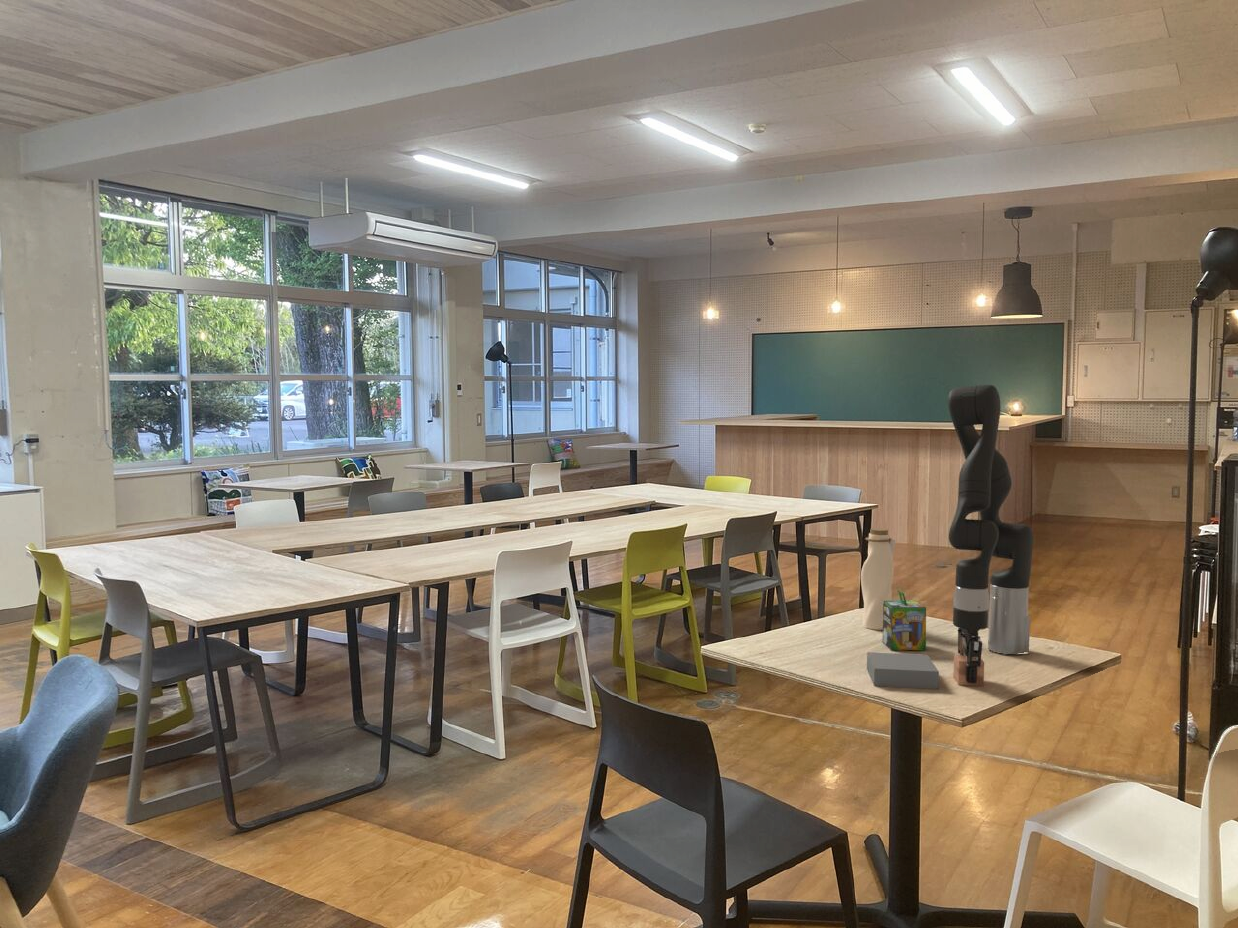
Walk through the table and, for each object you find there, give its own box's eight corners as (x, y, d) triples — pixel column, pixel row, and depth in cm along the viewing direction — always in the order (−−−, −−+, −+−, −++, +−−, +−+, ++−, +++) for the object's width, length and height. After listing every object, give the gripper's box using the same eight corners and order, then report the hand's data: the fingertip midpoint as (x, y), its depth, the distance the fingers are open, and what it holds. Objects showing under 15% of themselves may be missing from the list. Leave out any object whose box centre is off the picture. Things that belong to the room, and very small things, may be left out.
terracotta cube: (977, 679, 220) (978, 655, 220) (983, 686, 214) (984, 662, 214) (953, 677, 221) (954, 654, 220) (958, 684, 215) (959, 660, 215)
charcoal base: (927, 671, 226) (927, 654, 225) (938, 688, 212) (938, 671, 212) (866, 668, 228) (867, 652, 227) (873, 685, 214) (874, 668, 214)
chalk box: (926, 651, 244) (928, 594, 243) (890, 651, 244) (892, 594, 243) (915, 642, 253) (917, 587, 252) (881, 641, 253) (882, 587, 252)
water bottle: (870, 620, 278) (872, 525, 276) (899, 625, 272) (902, 528, 270) (854, 626, 270) (857, 529, 268) (884, 631, 264) (887, 532, 262)
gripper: (995, 613, 209) (992, 689, 210) (980, 600, 223) (977, 670, 224) (960, 612, 210) (957, 687, 211) (947, 599, 224) (945, 669, 225)
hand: (968, 678), depth 218 cm, fingers closed on terracotta cube, 5 cm apart
